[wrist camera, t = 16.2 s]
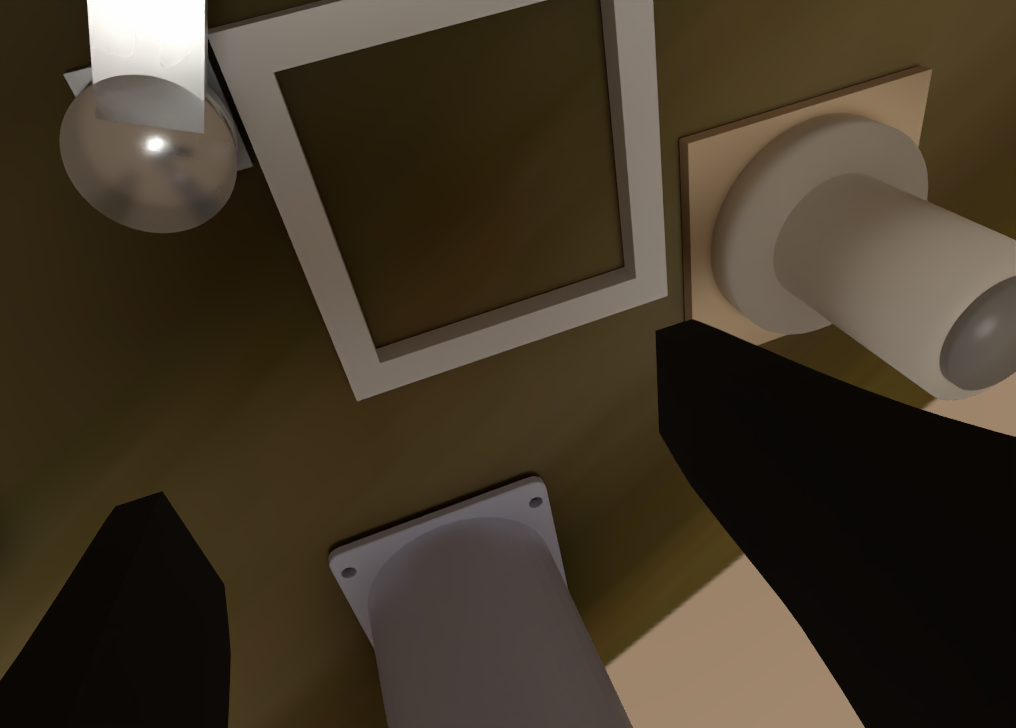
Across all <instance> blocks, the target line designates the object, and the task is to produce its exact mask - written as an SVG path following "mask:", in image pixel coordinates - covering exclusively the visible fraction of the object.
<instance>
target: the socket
mask: <svg viewBox="0 0 1016 728" xmlns="http://www.w3.org/2000/svg"><path fill="white" fill-rule="evenodd" d="M541 1H545V0H321V1H317V2H313V3H309V4H305V5H302V6H298V7H294V8H290V9H286V10H282V11H278V12H274V13H270V14H266V15H262V16H258V17H254V18H250V19H246V20H242V21H238V22H234V23H230V24H226V25H222V26H218V27H215V28H211V29H208V39H209V41H210V44H211V46H212V49H213V51H214V54H215V56H216V59H217V61H218V63H219V66H220V68H221V71H222V73H223V76H224V78H225V80H226V83H227V85H228V88H229V90H230V93H231V95H232V98H233V100H234V102H235V105H236V107H237V110H238V112H239V115H240V117H241V120H242V122H243V124H244V127H245V129H246V132H247V134H248V137H249V139H250V141H251V144H252V146H253V149H254V151H255V154H256V156H257V159H258V161H259V163H260V166H261V168H262V171H263V173H264V176H265V178H266V180H267V183H268V185H269V188H270V190H271V193H272V195H273V198H274V200H275V202H276V205H277V207H278V210H279V212H280V215H281V217H282V220H283V222H284V224H285V227H286V229H287V232H288V234H289V237H290V239H291V241H292V244H293V246H294V249H295V251H296V254H297V256H298V259H299V261H300V263H301V266H302V268H303V271H304V273H305V276H306V278H307V280H308V283H309V285H310V288H311V290H312V293H313V295H314V298H315V300H316V302H317V305H318V307H319V310H320V312H321V315H322V317H323V319H324V322H325V324H326V327H327V329H328V332H329V334H330V337H331V339H332V341H333V344H334V346H335V349H336V351H337V354H338V356H339V359H340V361H341V363H342V366H343V368H344V371H345V373H346V376H347V378H348V380H349V383H350V385H351V388H352V390H353V393H354V395H355V398H356V400H357V401H360V400H363V399H366V398H368V397H371V396H374V395H377V394H380V393H383V392H386V391H389V390H392V389H395V388H398V387H401V386H404V385H407V384H410V383H413V382H416V381H419V380H421V379H424V378H427V377H430V376H433V375H436V374H439V373H442V372H445V371H448V370H451V369H454V368H457V367H460V366H463V365H466V364H469V363H472V362H474V361H477V360H480V359H483V358H486V357H489V356H492V355H495V354H498V353H501V352H504V351H507V350H510V349H513V348H516V347H519V346H522V345H525V344H527V343H530V342H533V341H536V340H539V339H542V338H545V337H548V336H551V335H554V334H557V333H560V332H563V331H566V330H569V329H572V328H575V327H577V326H580V325H583V324H586V323H589V322H592V321H595V320H598V319H601V318H604V317H607V316H610V315H613V314H616V313H619V312H622V311H625V310H628V309H630V308H633V307H636V306H639V305H642V304H645V303H648V302H651V301H654V300H657V299H660V298H663V297H666V296H668V294H667V274H666V253H665V233H664V213H663V193H662V173H661V152H660V132H659V112H658V92H657V72H656V51H655V31H654V11H653V0H600V1H601V12H602V23H603V34H604V45H605V56H606V67H607V78H608V89H609V100H610V111H611V122H612V133H613V144H614V155H615V166H616V177H617V188H618V200H619V211H620V222H621V233H622V244H623V255H624V266H625V267H623V268H620V269H617V270H614V271H611V272H608V273H605V274H602V275H599V276H596V277H593V278H589V279H586V280H583V281H580V282H577V283H574V284H571V285H568V286H565V287H562V288H559V289H556V290H553V291H550V292H547V293H544V294H541V295H538V296H535V297H532V298H529V299H526V300H523V301H520V302H517V303H514V304H511V305H508V306H505V307H502V308H499V309H496V310H493V311H489V312H486V313H483V314H480V315H477V316H474V317H471V318H468V319H465V320H462V321H459V322H456V323H453V324H450V325H447V326H444V327H441V328H438V329H435V330H432V331H429V332H426V333H423V334H420V335H417V336H414V337H411V338H408V339H405V340H402V341H399V342H396V343H392V344H389V345H386V346H383V347H380V348H377V349H376V348H375V345H374V342H373V339H372V337H371V334H370V331H369V328H368V326H367V323H366V320H365V318H364V315H363V312H362V309H361V307H360V304H359V301H358V298H357V296H356V293H355V290H354V288H353V285H352V282H351V279H350V277H349V274H348V271H347V268H346V266H345V263H344V260H343V258H342V255H341V252H340V249H339V247H338V244H337V241H336V238H335V236H334V233H333V230H332V228H331V225H330V222H329V219H328V217H327V214H326V211H325V208H324V206H323V203H322V200H321V198H320V195H319V192H318V189H317V187H316V184H315V181H314V178H313V176H312V173H311V170H310V168H309V165H308V162H307V159H306V157H305V154H304V151H303V148H302V146H301V143H300V140H299V137H298V135H297V132H296V129H295V127H294V124H293V121H292V118H291V116H290V113H289V110H288V107H287V105H286V102H285V99H284V97H283V94H282V91H281V88H280V86H279V83H278V80H277V77H276V75H275V72H277V71H281V70H285V69H288V68H292V67H296V66H300V65H304V64H307V63H311V62H315V61H319V60H322V59H326V58H330V57H334V56H337V55H341V54H345V53H349V52H353V51H356V50H360V49H364V48H368V47H371V46H375V45H379V44H383V43H386V42H390V41H394V40H398V39H401V38H405V37H409V36H413V35H417V34H420V33H424V32H428V31H432V30H435V29H439V28H443V27H447V26H450V25H454V24H458V23H462V22H466V21H469V20H473V19H477V18H481V17H484V16H488V15H492V14H496V13H499V12H503V11H507V10H511V9H515V8H518V7H522V6H526V5H530V4H533V3H537V2H541Z"/></svg>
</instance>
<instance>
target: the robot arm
mask: <svg viewBox="0 0 1016 728" xmlns="http://www.w3.org/2000/svg"><path fill="white" fill-rule="evenodd" d="M656 357H657V385H658V413H659V433H660V434H661V436H662V438H663V440H664V441H665V443H666V445H667V447H668V448H669V450H670V452H671V453H672V455H673V457H674V459H675V460H676V462H677V464H678V465H679V467H680V469H681V470H682V472H683V473H684V475H685V477H686V478H687V480H688V482H689V483H690V485H691V486H692V488H693V489H694V490H695V491H696V493H697V494H698V495H699V497H700V498H701V499H702V501H703V502H704V503H705V504H706V506H707V507H708V508H709V509H710V511H711V512H712V513H713V515H714V516H715V517H716V518H717V520H718V521H719V522H720V524H721V525H722V526H723V527H724V529H725V530H726V531H727V532H728V534H729V535H730V536H731V537H732V539H733V540H734V541H735V542H736V544H737V545H738V546H739V547H740V549H741V550H742V551H743V552H744V554H745V555H746V556H747V557H748V559H749V560H750V561H751V562H752V564H753V565H754V566H755V567H756V569H757V570H758V571H759V572H760V574H761V575H762V576H763V578H764V579H765V580H766V581H767V583H768V584H769V585H770V586H771V588H772V589H773V590H774V591H775V593H776V594H777V595H778V596H779V598H780V599H781V600H782V601H783V603H784V604H785V605H786V607H787V608H788V610H789V611H790V612H791V614H792V615H793V617H794V618H795V619H796V621H797V622H798V623H799V625H800V626H801V627H802V629H803V631H804V632H805V634H806V635H807V637H808V638H809V640H810V641H811V643H812V644H813V646H814V647H815V649H816V651H817V652H818V654H819V655H820V657H821V658H822V660H823V661H824V663H825V665H826V666H827V667H828V669H829V671H830V672H831V674H832V675H833V677H834V678H835V680H836V682H837V683H838V685H839V686H840V688H841V689H842V691H843V693H844V694H845V696H846V697H847V699H848V700H849V702H850V704H851V706H852V707H853V709H854V711H855V712H856V714H857V715H858V717H859V719H860V720H861V722H862V723H863V725H864V727H865V728H1016V437H1014V436H1010V435H1006V434H1003V433H999V432H995V431H992V430H988V429H985V428H982V427H978V426H974V425H971V424H967V423H964V422H961V421H957V420H954V419H950V418H947V417H943V416H940V415H937V414H933V413H931V412H927V411H924V410H921V409H918V408H915V407H912V406H909V405H906V404H904V403H901V402H898V401H895V400H892V399H890V398H887V397H884V396H881V395H878V394H875V393H873V392H870V391H867V390H864V389H862V388H859V387H856V386H854V385H851V384H849V383H846V382H843V381H841V380H838V379H836V378H833V377H831V376H828V375H826V374H823V373H821V372H818V371H816V370H813V369H811V368H808V367H806V366H804V365H801V364H799V363H796V362H794V361H792V360H789V359H787V358H785V357H782V356H780V355H777V354H775V353H773V352H771V351H768V350H766V349H764V348H761V347H759V346H757V345H754V344H752V343H750V342H747V341H745V340H743V339H741V338H738V337H736V336H734V335H731V334H729V333H727V332H724V331H722V330H720V329H717V328H715V327H712V326H710V325H707V324H705V323H702V322H700V321H697V320H694V319H691V320H688V321H685V322H682V323H678V324H675V325H672V326H669V327H666V328H663V329H660V330H657V331H656ZM535 497H537V498H536V499H534V500H532V499H533V498H535ZM328 559H329V566H330V569H331V571H332V573H333V575H334V576H335V578H336V580H337V582H338V584H339V586H340V587H341V589H342V591H343V593H344V595H345V597H346V598H347V600H348V602H349V604H350V606H351V608H352V609H353V611H354V613H355V615H356V617H357V619H358V621H359V622H360V624H361V626H362V628H363V630H364V632H365V633H366V635H367V637H368V639H369V641H370V643H371V644H372V646H373V648H374V650H375V655H376V661H377V667H378V672H379V678H380V684H381V690H382V695H383V701H384V707H385V713H386V718H387V724H388V728H633V727H632V725H631V723H630V721H629V718H628V717H627V714H626V712H625V710H624V708H623V706H622V704H621V701H620V699H619V697H618V695H617V693H616V691H615V689H614V687H613V684H612V682H611V680H610V678H609V676H608V674H607V672H606V669H605V667H604V665H603V663H602V661H601V659H600V657H599V654H598V652H597V650H596V648H595V646H594V644H593V642H592V640H591V637H590V635H589V633H588V631H587V629H586V627H585V625H584V623H583V620H582V618H581V616H580V614H579V612H578V610H577V608H576V605H575V603H574V601H573V599H572V597H571V595H570V593H569V591H568V586H567V582H566V577H565V572H564V568H563V563H562V558H561V554H560V549H559V545H558V540H557V535H556V531H555V526H554V521H553V517H552V512H551V507H550V503H549V498H548V493H547V489H546V486H545V484H544V482H543V480H542V479H541V478H540V477H536V476H532V477H528V478H525V479H522V480H519V481H517V482H514V483H511V484H509V485H506V486H503V487H501V488H498V489H495V490H492V491H490V492H487V493H484V494H482V495H479V496H476V497H473V498H471V499H468V500H465V501H463V502H460V503H457V504H454V505H452V506H449V507H446V508H444V509H441V510H438V511H436V512H433V513H430V514H427V515H425V516H422V517H419V518H417V519H414V520H411V521H408V522H406V523H403V524H400V525H398V526H395V527H392V528H389V529H387V530H384V531H381V532H379V533H376V534H373V535H371V536H368V537H365V538H362V539H360V540H357V541H354V542H352V543H349V544H346V545H343V546H341V547H338V548H336V549H334V550H333V551H332V552H331V553H330V555H329V557H328ZM350 567H351V568H350ZM346 568H350V569H346ZM230 659H231V652H230V639H229V626H228V616H227V606H226V596H225V587H224V583H223V582H222V580H221V579H220V577H219V576H218V574H217V573H216V571H215V570H214V568H213V567H212V565H211V564H210V562H209V561H208V559H207V558H206V556H205V555H204V553H203V552H202V550H201V549H200V547H199V546H198V544H197V543H196V541H195V540H194V538H193V537H192V535H191V534H190V532H189V531H188V529H187V528H186V526H185V525H184V523H183V522H182V520H181V519H180V517H179V516H178V514H177V513H176V511H175V510H174V508H173V507H172V505H171V504H170V502H169V501H168V499H167V498H166V496H165V495H164V493H163V491H162V492H158V493H155V494H152V495H149V496H146V497H143V498H140V499H137V500H134V501H131V502H128V503H125V504H122V505H118V506H115V508H114V509H113V511H112V512H111V513H110V515H109V516H108V518H107V519H106V521H105V522H104V524H103V525H102V527H101V528H100V530H99V531H98V533H97V534H96V536H95V538H94V539H93V541H92V542H91V544H90V545H89V547H88V549H87V550H86V552H85V553H84V555H83V556H82V558H81V560H80V561H79V563H78V564H77V566H76V567H75V569H74V571H73V572H72V574H71V575H70V577H69V578H68V580H67V582H66V583H65V585H64V586H63V588H62V589H61V591H60V593H59V594H58V596H57V597H56V599H55V600H54V602H53V603H52V605H51V606H50V608H49V609H48V611H47V612H46V614H45V615H44V617H43V619H42V620H41V622H40V623H39V625H38V626H37V628H36V629H35V631H34V632H33V634H32V635H31V637H30V638H29V640H28V641H27V643H26V645H25V646H24V648H23V649H22V651H21V652H20V654H19V655H18V657H17V658H16V659H15V661H14V662H13V664H12V665H11V666H10V668H9V669H8V671H7V672H6V673H5V675H4V676H3V678H2V679H1V681H0V728H228V713H229V688H230Z"/></svg>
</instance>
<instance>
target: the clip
mask: <svg viewBox="0 0 1016 728" xmlns="http://www.w3.org/2000/svg"><path fill="white" fill-rule="evenodd" d="M87 6H88V20H89V35H90V49H91V63H92V77H93V79H92V80H91V81H90V82H89V83H88V84H87V85H86V86H85V87H84V89H83V90H82V91H81V92H80V93H79V94H78V96H77V97H76V98H75V99H74V101H73V102H72V103H71V105H70V106H69V108H68V110H67V111H66V113H65V115H64V118H63V121H62V125H61V130H60V152H61V157H62V161H63V164H64V167H65V170H66V172H67V174H68V176H69V178H70V180H71V181H72V183H73V185H74V186H75V188H76V189H77V190H78V192H79V193H80V194H81V195H82V197H83V198H84V199H85V200H86V201H87V202H88V203H89V204H90V205H91V206H93V207H94V208H95V209H96V210H98V211H99V212H100V213H102V214H103V215H105V216H106V217H108V218H110V219H111V220H113V221H115V222H117V223H120V224H122V225H124V226H127V227H130V228H132V229H136V230H140V231H145V232H152V233H174V232H180V231H185V230H188V229H191V228H194V227H197V226H199V225H201V224H203V223H205V222H206V221H208V220H209V219H211V218H212V217H214V216H215V215H216V214H217V213H218V212H219V211H220V210H221V209H222V208H223V206H224V205H225V204H226V202H227V201H228V199H229V197H230V196H231V193H232V191H233V188H234V185H235V181H236V175H237V155H238V145H237V135H236V130H235V127H234V123H233V120H232V118H231V116H230V114H229V112H228V110H227V108H226V107H225V105H224V104H223V102H222V101H221V99H220V98H219V97H218V96H217V94H216V93H215V92H214V91H213V90H212V89H211V88H210V87H209V86H208V85H207V81H208V0H87Z"/></svg>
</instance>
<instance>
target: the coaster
mask: <svg viewBox="0 0 1016 728" xmlns="http://www.w3.org/2000/svg"><path fill="white" fill-rule="evenodd" d="M931 73H932V69H931V68H927V67H923V66H916V67H913V68H910V69H907V70H903V71H900V72H897V73H893V74H890V75H887V76H884V77H880V78H877V79H874V80H870V81H867V82H864V83H861V84H857V85H854V86H851V87H848V88H844V89H841V90H838V91H834V92H831V93H828V94H825V95H821V96H818V97H815V98H811V99H808V100H805V101H802V102H798V103H795V104H792V105H789V106H785V107H782V108H779V109H775V110H772V111H769V112H766V113H762V114H759V115H756V116H752V117H749V118H746V119H743V120H739V121H736V122H733V123H729V124H726V125H723V126H720V127H716V128H713V129H710V130H707V131H703V132H700V133H697V134H693V135H690V136H687V137H684V138H680V139H679V149H680V180H681V210H682V241H683V272H684V303H685V321H688V320H691V319H694V320H697V321H700V322H702V323H705V324H707V325H710V326H712V327H715V328H717V329H720V330H722V331H724V332H727V333H729V334H731V335H734V336H736V337H738V338H741V339H743V340H745V341H747V342H750V343H752V344H754V345H760V344H762V343H765V342H768V341H771V340H774V339H776V338H779V337H782V336H785V335H787V334H779V333H774V332H770V331H767V330H765V329H762V328H760V327H759V326H757V325H756V324H754V323H753V322H752V321H750V320H749V319H748V318H747V317H746V316H744V315H743V314H742V313H741V312H740V311H738V310H737V309H736V308H735V307H734V306H732V305H731V304H730V303H729V302H728V301H727V300H726V299H725V298H724V296H723V295H722V294H721V292H720V291H719V289H718V286H717V284H716V282H715V279H714V276H713V272H712V266H711V242H712V235H713V231H714V227H715V223H716V219H717V217H718V214H719V211H720V208H721V206H722V204H723V202H724V200H725V198H726V196H727V194H728V192H729V190H730V188H731V187H732V185H733V184H734V182H735V180H736V179H737V177H738V176H739V175H740V173H741V172H742V171H743V169H744V168H745V167H746V165H747V164H748V163H749V162H750V161H751V160H752V159H753V158H754V157H755V155H756V154H757V153H758V152H759V151H761V150H762V149H763V148H764V147H765V146H766V145H767V144H768V143H769V142H771V141H772V140H773V139H775V138H776V137H777V136H779V135H780V134H781V133H783V132H785V131H786V130H788V129H790V128H791V127H793V126H795V125H797V124H799V123H801V122H803V121H806V120H808V119H811V118H814V117H817V116H821V115H825V114H832V113H850V114H855V115H860V116H863V117H866V118H868V119H871V120H874V121H877V122H880V123H883V124H886V125H888V126H891V127H893V128H896V129H898V130H900V131H902V132H903V133H905V134H906V135H908V136H909V137H910V138H911V139H912V140H913V141H914V142H915V143H916V145H917V147H918V146H919V140H920V135H921V129H922V124H923V118H924V112H925V107H926V101H927V96H928V90H929V84H930V79H931Z"/></svg>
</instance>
